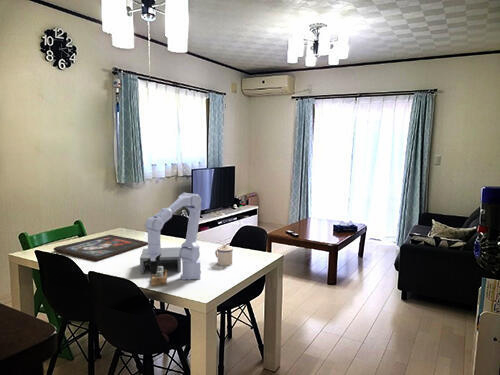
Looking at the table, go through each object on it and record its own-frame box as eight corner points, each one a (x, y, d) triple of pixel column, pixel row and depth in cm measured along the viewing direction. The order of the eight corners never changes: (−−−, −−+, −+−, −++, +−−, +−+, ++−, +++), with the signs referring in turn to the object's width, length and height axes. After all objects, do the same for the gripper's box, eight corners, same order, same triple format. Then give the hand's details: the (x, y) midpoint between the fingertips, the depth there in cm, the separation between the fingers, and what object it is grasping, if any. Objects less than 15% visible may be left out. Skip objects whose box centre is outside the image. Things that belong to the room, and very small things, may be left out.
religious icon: (51, 252, 231) (51, 247, 230) (108, 237, 270) (108, 233, 270) (95, 263, 212) (94, 258, 212) (149, 246, 252) (149, 241, 251)
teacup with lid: (235, 263, 214) (236, 244, 213) (225, 267, 207) (225, 247, 206) (220, 259, 222) (220, 240, 220) (210, 262, 214) (210, 243, 213)
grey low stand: (180, 261, 216) (180, 247, 215) (180, 272, 198) (180, 256, 197) (143, 263, 212) (143, 248, 211) (140, 274, 194) (140, 258, 193)
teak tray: (167, 274, 195) (167, 264, 194) (166, 285, 179) (166, 274, 179) (153, 274, 193) (153, 264, 193) (151, 286, 178) (151, 275, 177)
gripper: (146, 239, 176) (147, 266, 178) (143, 247, 162) (144, 277, 164) (161, 238, 177) (162, 266, 179) (159, 247, 163) (160, 276, 165)
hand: (154, 271), depth 171 cm, fingers open, 7 cm apart
